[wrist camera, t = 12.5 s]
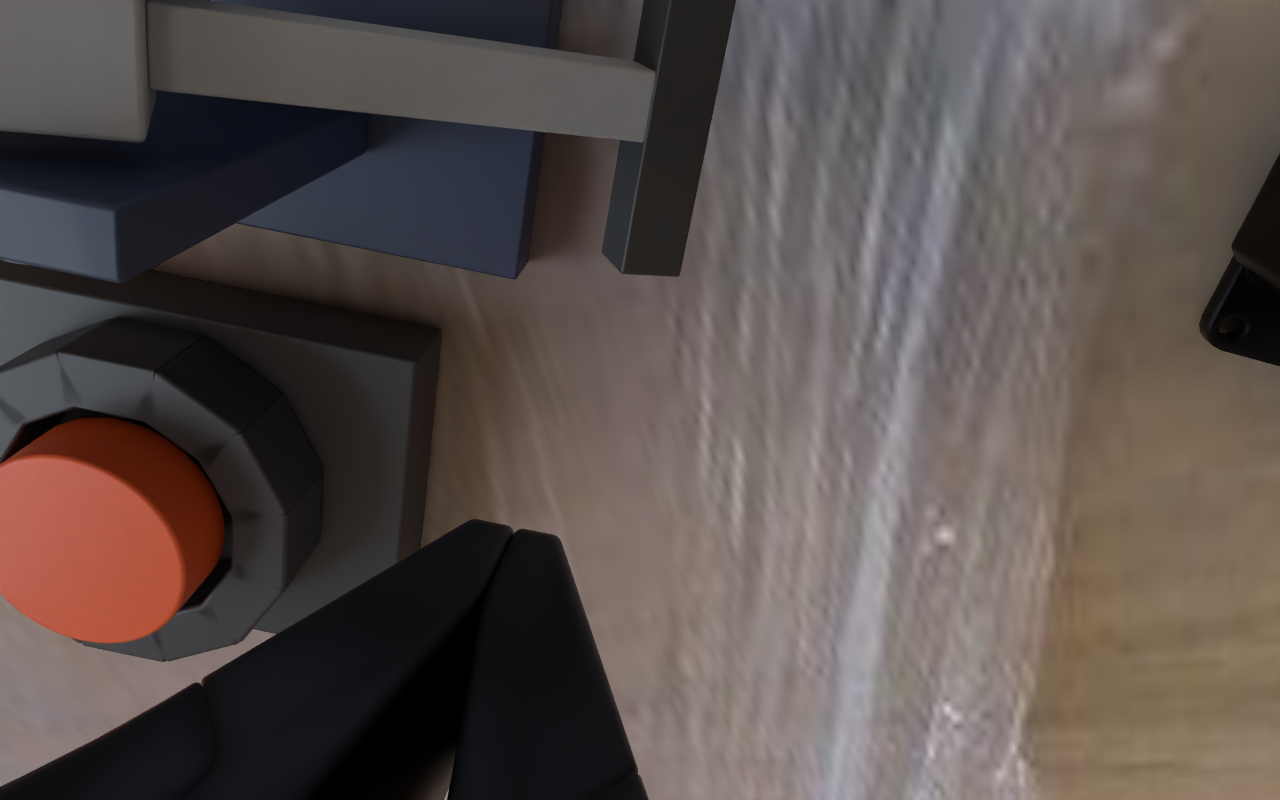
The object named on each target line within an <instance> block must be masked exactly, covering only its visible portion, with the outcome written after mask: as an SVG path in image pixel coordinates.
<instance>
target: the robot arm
mask: <svg viewBox="0 0 1280 800" xmlns="http://www.w3.org/2000/svg"><path fill="white" fill-rule="evenodd" d="M1232 250H1233V253H1234V256H1233V258H1232V260H1231V262H1230V264H1229V265H1228V267H1227V269H1226V271H1225V273H1224V275H1223V277H1222V279H1221V281H1220V282H1219V284H1218V286H1217V288H1216V290H1215V292H1214V294H1213V296H1212V297H1211V299H1210V301H1209V303H1208V305H1207V307H1206V309H1205V311H1204V312H1203V314H1202V317H1201V320H1200V323H1199V326H1200V333H1201V334H1202V336H1203V337H1204V338H1205V340H1207V341H1208V342H1209V343H1210V344H1211V345H1213V346H1214V347H1216V348H1218V349H1220V350H1222V351H1226V352H1229V353H1233V354H1237V355H1240V356H1244V357H1248V358H1251V359H1255V360H1259V361H1262V362H1266V363H1270V364H1273V365H1277V366H1280V154H1279V156H1278V158H1277V160H1276V162H1275V164H1274V165H1273V167H1272V169H1271V171H1270V173H1269V175H1268V177H1267V179H1266V181H1265V182H1264V184H1263V186H1262V188H1261V190H1260V192H1259V194H1258V196H1257V198H1256V199H1255V201H1254V203H1253V205H1252V207H1251V209H1250V211H1249V213H1248V215H1247V216H1246V218H1245V220H1244V222H1243V224H1242V226H1241V228H1240V230H1239V232H1238V233H1237V235H1236V237H1235V239H1234V241H1233V243H1232ZM1231 317H1238V322H1237V325H1236V326H1235V328H1234V329H1233V330H1232V331H1229V332H1227V333H1220V329H1221V325H1222V324H1223V323H1224V322H1225V320H1227V319H1229V318H1231ZM449 786H450V787H449ZM448 789H449V793H448V798H447V800H649V799H648V796H647V793H646V790H645V787H644V785H643V782H642V779H641V777H640V775H638V768H637V765H636V762H635V759H634V756H633V753H632V750H631V747H630V744H629V741H628V738H627V735H626V732H625V730H624V727H623V724H622V721H621V718H620V715H619V712H618V709H617V706H616V703H615V700H614V697H613V694H612V691H611V688H610V685H609V682H608V679H607V676H606V673H605V670H604V667H603V664H602V661H601V658H600V655H599V652H598V649H597V646H596V643H595V640H594V637H593V635H592V632H591V629H590V626H589V623H588V620H587V617H586V614H585V611H584V608H583V605H582V602H581V599H580V596H579V593H578V590H577V587H576V584H575V581H574V578H573V575H572V572H571V569H570V566H569V563H568V560H567V557H566V554H565V551H564V548H563V545H562V543H561V541H560V539H559V538H558V537H557V536H555V535H552V534H547V533H542V532H537V531H532V530H527V529H520V530H517V531H516V532H515V533H514V531H513V529H512V528H511V527H510V526H507V525H502V524H497V523H493V522H488V521H483V520H478V519H472V520H469V521H467V522H465V523H464V524H462V525H460V526H459V527H457V528H455V529H453V530H452V531H450V532H448V533H447V534H445V535H443V536H442V537H440V538H438V539H437V540H435V541H433V542H432V543H430V544H428V545H426V546H425V547H423V548H421V549H420V550H418V551H416V552H415V553H413V554H411V555H410V556H408V557H406V558H405V559H403V560H401V561H399V562H398V563H396V564H394V565H393V566H391V567H389V568H388V569H386V570H384V571H383V572H381V573H379V574H378V575H376V576H374V577H372V578H371V579H369V580H367V581H366V582H364V583H362V584H361V585H359V586H357V587H356V588H354V589H352V590H351V591H349V592H347V593H346V594H344V595H342V596H340V597H339V598H337V599H335V600H334V601H332V602H330V603H329V604H327V605H325V606H324V607H322V608H320V609H319V610H317V611H315V612H313V613H312V614H310V615H308V616H307V617H305V618H303V619H302V620H300V621H298V622H297V623H295V624H293V625H292V626H290V627H288V628H286V629H285V630H283V631H281V632H280V633H278V634H276V635H275V636H273V637H271V638H270V639H268V640H266V641H265V642H263V643H261V644H259V645H258V646H256V647H254V648H253V649H251V650H249V651H248V652H246V653H244V654H243V655H241V656H239V657H238V658H236V659H234V660H233V661H231V662H229V663H227V664H226V665H224V666H222V667H221V668H219V669H217V670H216V671H214V672H212V673H211V674H209V675H207V676H206V677H204V678H203V679H202V682H201V684H200V683H193V684H191V685H190V686H188V687H186V688H185V689H183V690H181V691H180V692H178V693H176V694H174V695H173V696H171V697H169V698H168V699H166V700H164V701H163V702H161V703H159V704H158V705H156V706H154V707H152V708H150V709H149V710H147V711H145V712H143V713H142V714H140V715H138V716H136V717H134V718H133V719H131V720H129V721H127V722H125V723H124V724H122V725H120V726H118V727H117V728H115V729H113V730H111V731H109V732H108V733H106V734H104V735H102V736H100V737H99V738H97V739H95V740H93V741H91V742H89V743H87V744H85V745H83V746H81V747H79V748H77V749H75V750H73V751H71V752H69V753H67V754H65V755H63V756H61V757H59V758H57V759H55V760H53V761H51V762H49V763H47V764H45V765H44V766H42V767H40V768H38V769H36V770H34V771H32V772H30V773H28V774H26V775H24V776H22V777H20V778H18V779H15V780H13V781H11V782H9V783H7V784H5V785H3V786H1V787H0V800H444V798H445V796H446V793H447V791H448Z"/></svg>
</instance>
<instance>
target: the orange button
mask: <svg viewBox="0 0 1280 800" xmlns="http://www.w3.org/2000/svg"><path fill="white" fill-rule="evenodd" d="M224 539H225V522H224V515H223V511H222V507H221V504H220V501H219V499H218V496H217V494H216V492H215V490H214V488H213V486H212V484H211V482H210V481H209V479H208V478H207V476H206V475H205V473H204V472H203V471H202V470H201V468H200V467H199V466H198V465H197V464H196V463H195V461H194V460H193V459H192V458H190V457H189V456H188V455H187V454H186V453H185V452H184V451H183V450H182V449H180V448H179V447H178V446H177V445H175V444H174V443H173V442H171V441H170V440H168V439H166V438H165V437H163V436H162V435H160V434H158V433H156V432H154V431H152V430H150V429H148V428H146V427H143V426H140V425H138V424H135V423H132V422H128V421H124V420H120V419H114V418H106V417H90V418H81V419H75V420H71V421H67V422H65V423H62V424H60V425H58V426H55V427H54V428H52V429H51V430H49V431H47V432H46V433H44V434H43V435H42V436H40V437H39V438H37V439H36V440H34V441H33V442H31V443H30V444H29V445H27V446H26V447H24V448H23V449H21V450H20V451H18V452H17V453H16V454H14V455H13V456H11V457H10V458H8V459H7V460H5V461H4V462H3V463H1V464H0V593H1V594H2V595H3V596H4V598H5V599H6V600H7V601H8V602H10V603H11V604H12V605H13V606H14V607H15V608H17V609H18V610H19V611H20V612H22V613H23V614H25V615H26V616H27V617H29V618H30V619H32V620H33V621H35V622H37V623H39V624H40V625H42V626H44V627H46V628H48V629H50V630H52V631H54V632H57V633H59V634H62V635H65V636H68V637H71V638H74V639H78V640H82V641H88V642H94V643H123V642H128V641H133V640H137V639H140V638H142V637H145V636H148V635H150V634H152V633H154V632H156V631H158V630H159V629H160V628H162V627H163V626H164V625H166V624H167V623H168V622H169V621H170V620H171V619H172V618H173V616H174V615H175V614H176V613H177V612H178V611H179V609H180V608H181V607H182V606H183V605H184V604H185V602H186V601H187V600H188V599H189V598H190V597H191V595H192V594H193V593H194V592H195V591H196V590H197V588H198V587H199V586H200V585H201V584H202V583H203V581H204V580H205V579H206V578H207V577H208V576H209V574H210V573H211V572H212V571H213V569H214V568H215V566H216V565H217V563H218V561H219V558H220V556H221V554H222V550H223V546H224Z"/></svg>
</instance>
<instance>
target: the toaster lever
mask: <svg viewBox="0 0 1280 800" xmlns="http://www.w3.org/2000/svg"><path fill="white" fill-rule="evenodd" d="M735 2H736V0H644V3H643V9H642V15H641V21H640V27H639V33H638V39H637V45H636V51H635V57H634V61H631V60H624V59H617V58H610V57H603V56H596V55H589V54H582V53H575V52H568V51H561V50H554V49H546V48H539V47H532V46H525V45H518V44H511V43H504V42H497V41H490V40H483V39H476V38H469V37H462V36H454V35H447V34H440V33H433V32H426V31H419V30H412V29H405V28H398V27H391V26H384V25H377V24H369V23H362V22H355V21H348V20H341V19H334V18H327V17H320V16H313V15H306V14H299V13H292V12H284V11H277V10H270V9H263V8H256V7H249V6H242V5H235V4H228V3H221V2H214V1H207V0H0V131H8V132H20V133H31V134H42V135H54V136H65V137H77V138H88V139H99V140H111V141H122V142H134V143H140V142H143V141H145V138H146V136H147V132H148V128H149V125H150V121H151V117H152V113H153V109H154V105H155V102H156V90H157V91H166V92H175V93H185V94H194V95H203V96H213V97H222V98H231V99H241V100H250V101H259V102H269V103H278V104H288V105H297V106H306V107H316V108H325V109H334V110H344V111H353V112H362V113H372V114H381V115H390V116H400V117H409V118H419V119H428V120H437V121H447V122H456V123H465V124H475V125H484V126H493V127H503V128H512V129H521V130H531V131H540V132H549V133H559V134H568V135H578V136H587V137H596V138H606V139H615V140H620V146H619V152H618V158H617V164H616V170H615V176H614V182H613V188H612V194H611V200H610V206H609V212H608V218H607V224H606V230H605V236H604V242H603V248H602V253H603V254H604V255H605V256H606V257H607V258H608V259H609V261H610V262H611V263H612V264H613V265H614V266H615V267H616V268H617V269H618V270H619V271H620V272H621V273H622V274H635V275H655V276H675V277H677V276H679V275H680V271H681V266H682V261H683V257H684V252H685V247H686V242H687V237H688V232H689V227H690V222H691V217H692V212H693V208H694V203H695V198H696V193H697V188H698V183H699V178H700V173H701V168H702V164H703V159H704V154H705V149H706V144H707V139H708V134H709V129H710V124H711V119H712V115H713V110H714V105H715V100H716V95H717V90H718V85H719V80H720V75H721V71H722V66H723V61H724V56H725V51H726V46H727V41H728V36H729V31H730V27H731V22H732V17H733V12H734V7H735Z"/></svg>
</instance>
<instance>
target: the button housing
mask: <svg viewBox="0 0 1280 800" xmlns="http://www.w3.org/2000/svg"><path fill="white" fill-rule="evenodd" d="M440 342H441V330H439V329H436V328H431V327H426V326H421V325H416V324H411V323H406V322H401V321H396V320H391V319H387V318H382V317H377V316H372V315H367V314H362V313H357V312H352V311H347V310H342V309H337V308H332V307H327V306H322V305H317V304H312V303H308V302H303V301H298V300H293V299H288V298H283V297H278V296H273V295H268V294H263V293H258V292H253V291H248V290H243V289H238V288H233V287H229V286H224V285H219V284H214V283H209V282H204V281H199V280H194V279H189V278H184V277H179V276H174V275H169V274H164V273H159V272H154V271H150V270H147V271H146V272H144V273H142V274H140V275H138V276H136V277H134V278H133V279H131V280H129V281H127V282H125V283H115V282H110V281H105V280H100V279H96V278H91V277H86V276H81V275H76V274H71V273H66V272H61V271H56V270H51V269H46V268H41V267H36V266H31V265H25V264H18V263H12V262H8V261H4V260H1V259H0V464H1V463H3V462H4V461H5V460H7V459H8V458H10V457H11V456H13V455H14V454H16V453H17V452H18V451H20V450H21V449H23V448H24V447H26V446H27V445H29V444H30V443H31V442H33V441H34V440H36V439H37V438H39V437H40V436H42V435H43V434H44V433H46V432H47V431H49V430H51V429H52V428H54V427H55V426H58V425H60V424H62V423H65V422H67V421H71V420H75V419H81V418H90V417H106V418H114V419H120V420H124V421H128V422H132V423H135V424H138V425H140V426H143V427H146V428H148V429H150V430H152V431H154V432H156V433H158V434H160V435H162V436H163V437H165V438H166V439H168V440H170V441H171V442H173V443H174V444H175V445H177V446H178V447H179V448H180V449H182V450H183V451H184V452H185V453H186V454H187V455H188V456H189V457H190V458H192V459H193V460H194V461H195V463H196V464H197V465H198V466H199V467H200V468H201V470H202V471H203V472H204V473H205V475H206V476H207V478H208V479H209V481H210V482H211V484H212V486H213V488H214V490H215V492H216V494H217V496H218V499H219V501H220V504H221V507H222V511H223V515H224V522H225V539H224V546H223V550H222V554H221V556H220V558H219V561H218V563H217V565H216V566H215V568H214V569H213V571H212V572H211V573H210V574H209V576H208V577H207V578H206V579H205V580H204V581H203V583H202V584H201V585H200V586H199V587H198V588H197V590H196V591H195V592H194V593H193V594H192V595H191V597H190V598H189V599H188V600H187V601H186V602H185V604H184V605H183V606H182V607H181V608H180V609H179V611H178V612H177V613H176V614H175V615H174V616H173V618H172V619H171V620H170V621H169V622H168V623H167V624H166V625H164V626H163V627H162V628H160V629H159V630H158V631H156V632H154V633H152V634H150V635H148V636H145V637H142V638H140V639H137V640H133V641H128V642H123V643H94V642H88V641H82V640H78V639H74V638H72V639H74V640H75V641H77V642H78V643H82V644H83V645H84V646H89V647H93V648H98V649H103V650H108V651H113V652H118V653H122V654H127V655H132V656H137V657H142V658H147V659H151V660H156V661H161V662H165V661H172V660H176V659H180V658H184V657H188V656H192V655H196V654H199V653H203V652H207V651H211V650H215V649H219V648H223V647H227V646H230V645H234V644H237V643H239V642H241V641H243V640H244V639H245V638H246V636H247V635H248V634H249V633H250V632H251V630H252V629H256V630H260V631H265V632H270V633H275V634H278V633H280V632H281V631H283V630H285V629H286V628H288V627H290V626H292V625H293V624H295V623H297V622H298V621H300V620H302V619H303V618H305V617H307V616H308V615H310V614H312V613H313V612H315V611H317V610H319V609H320V608H322V607H324V606H325V605H327V604H329V603H330V602H332V601H334V600H335V599H337V598H339V597H340V596H342V595H344V594H346V593H347V592H349V591H351V590H352V589H354V588H356V587H357V586H359V585H361V584H362V583H364V582H366V581H367V580H369V579H371V578H372V577H374V576H376V575H378V574H379V573H381V572H383V571H384V570H386V569H388V568H389V567H391V566H393V565H394V564H396V563H398V562H399V561H401V560H403V559H405V558H406V557H408V556H410V555H411V554H413V553H415V552H416V551H418V550H420V545H421V535H422V525H423V515H424V505H425V494H426V484H427V474H428V464H429V454H430V444H431V434H432V423H433V413H434V403H435V393H436V383H437V373H438V363H439V352H440ZM70 638H71V637H70Z"/></svg>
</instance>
